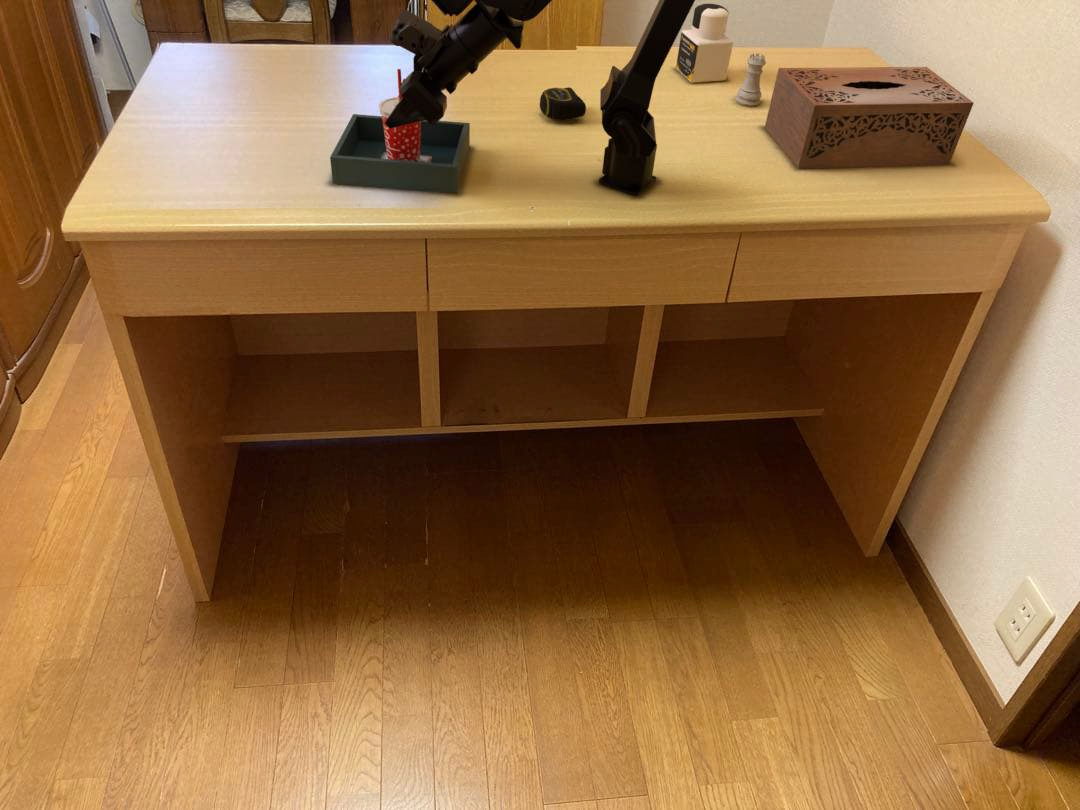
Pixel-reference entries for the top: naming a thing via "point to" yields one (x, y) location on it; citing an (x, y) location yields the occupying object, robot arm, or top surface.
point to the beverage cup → (400, 132)
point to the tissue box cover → (866, 116)
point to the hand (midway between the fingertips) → (391, 115)
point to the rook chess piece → (751, 82)
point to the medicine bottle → (705, 45)
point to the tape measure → (562, 104)
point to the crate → (364, 166)
